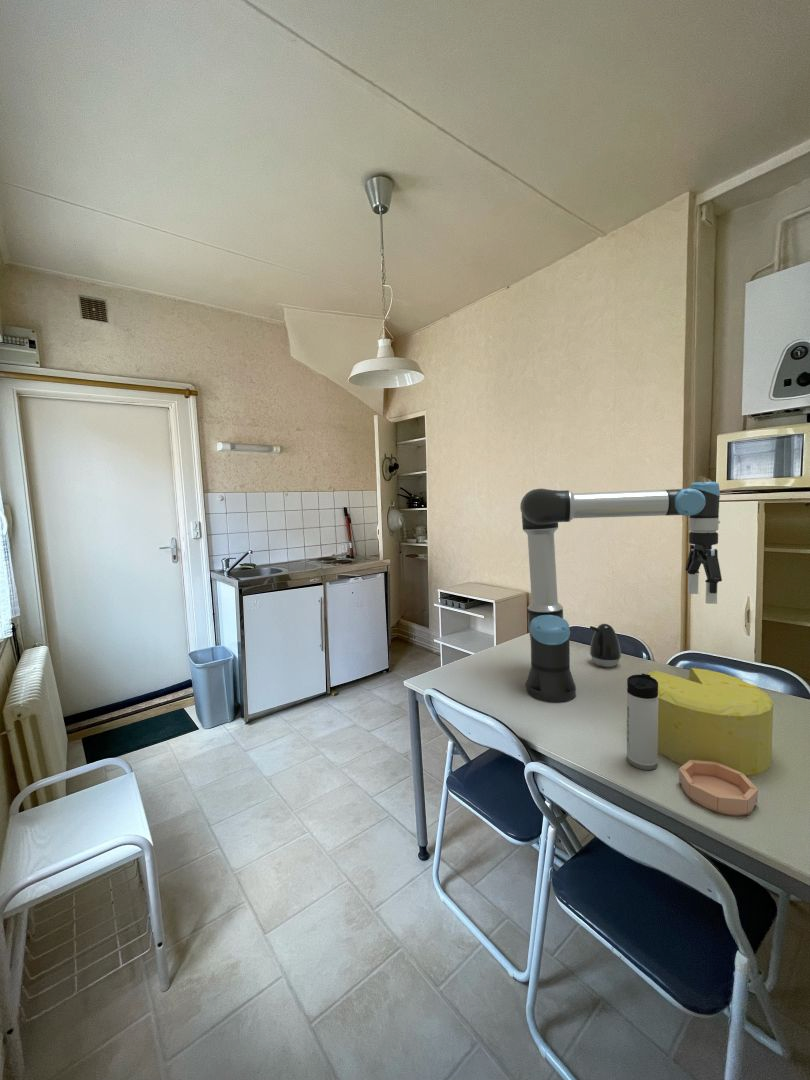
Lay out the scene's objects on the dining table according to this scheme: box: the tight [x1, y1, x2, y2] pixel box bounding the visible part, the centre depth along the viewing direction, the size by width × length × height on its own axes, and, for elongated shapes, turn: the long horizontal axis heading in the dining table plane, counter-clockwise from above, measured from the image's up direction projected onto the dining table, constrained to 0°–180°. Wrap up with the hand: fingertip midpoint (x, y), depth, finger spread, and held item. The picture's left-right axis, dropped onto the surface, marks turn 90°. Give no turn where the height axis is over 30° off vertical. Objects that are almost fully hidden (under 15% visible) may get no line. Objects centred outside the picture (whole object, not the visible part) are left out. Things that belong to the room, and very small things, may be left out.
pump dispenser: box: [589, 623, 622, 668], centre depth 155 cm, size 10×10×15 cm
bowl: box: [678, 760, 759, 817], centre depth 87 cm, size 12×12×3 cm
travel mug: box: [626, 672, 659, 771], centre depth 98 cm, size 6×7×20 cm
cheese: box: [647, 667, 774, 777], centre depth 105 cm, size 26×26×15 cm
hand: (701, 598), depth 136 cm, fingers open, 13 cm apart
